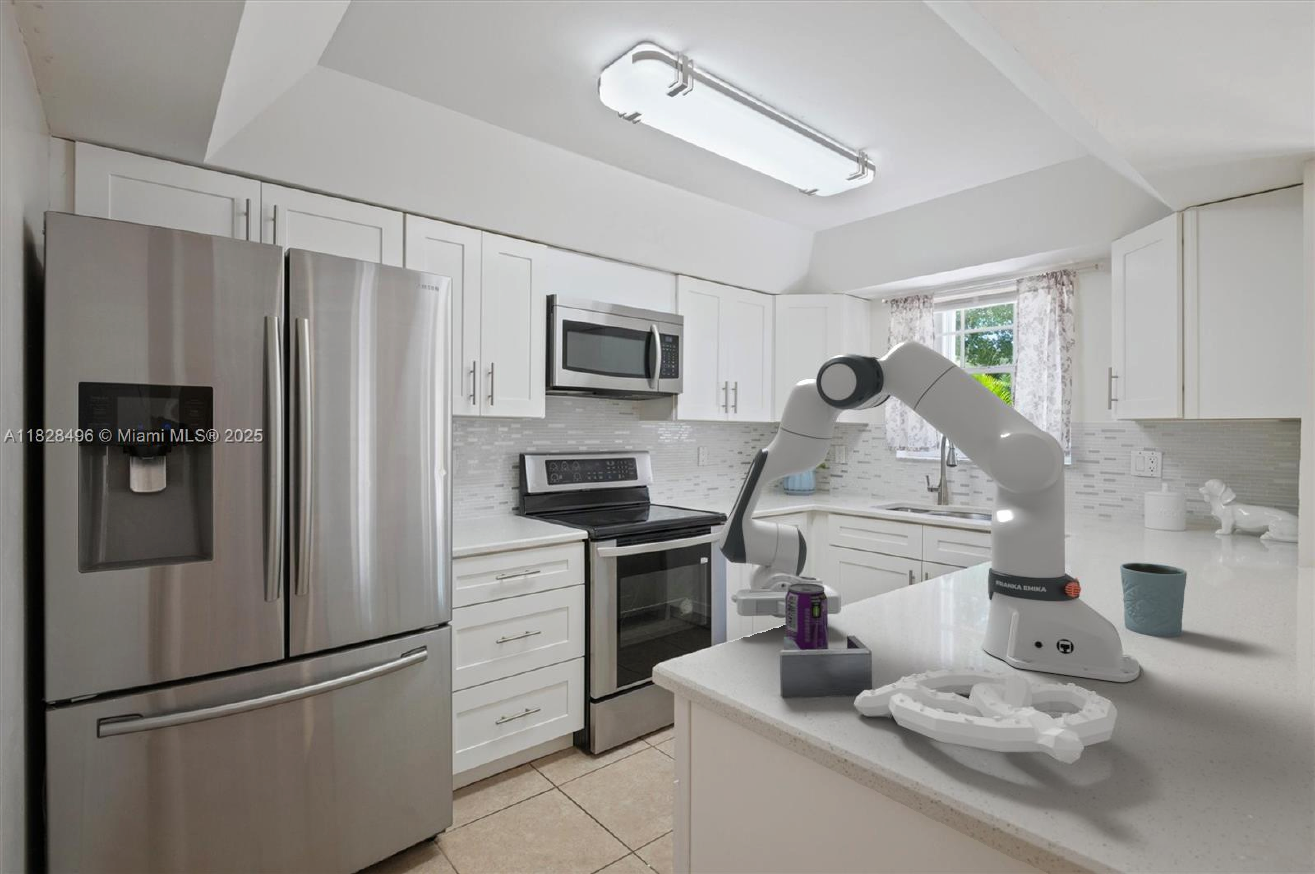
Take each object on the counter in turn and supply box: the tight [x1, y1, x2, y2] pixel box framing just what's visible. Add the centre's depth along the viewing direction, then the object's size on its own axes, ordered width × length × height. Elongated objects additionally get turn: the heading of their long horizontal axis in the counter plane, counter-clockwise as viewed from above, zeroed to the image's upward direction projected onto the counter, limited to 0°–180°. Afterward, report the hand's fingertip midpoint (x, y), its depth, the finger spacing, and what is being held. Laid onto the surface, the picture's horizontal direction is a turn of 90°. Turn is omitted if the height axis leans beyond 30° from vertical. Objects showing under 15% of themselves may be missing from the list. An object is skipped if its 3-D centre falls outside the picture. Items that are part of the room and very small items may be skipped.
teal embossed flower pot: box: [1119, 562, 1188, 638], centre depth 121 cm, size 10×10×12 cm
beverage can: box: [785, 583, 829, 650], centre depth 109 cm, size 7×7×12 cm
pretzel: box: [853, 666, 1118, 765], centre depth 81 cm, size 28×24×6 cm
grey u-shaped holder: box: [779, 635, 873, 698], centre depth 97 cm, size 9×14×7 cm, turn 92°
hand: (796, 613), depth 117 cm, fingers closed
